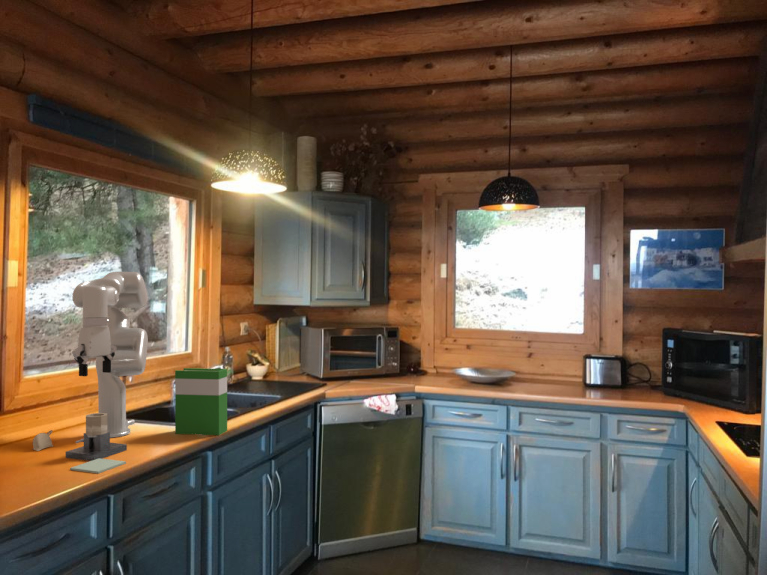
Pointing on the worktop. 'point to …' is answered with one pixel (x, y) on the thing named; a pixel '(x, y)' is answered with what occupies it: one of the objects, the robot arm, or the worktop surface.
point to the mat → (98, 465)
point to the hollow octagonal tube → (96, 424)
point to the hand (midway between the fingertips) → (95, 374)
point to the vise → (95, 448)
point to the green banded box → (201, 401)
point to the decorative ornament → (42, 441)
